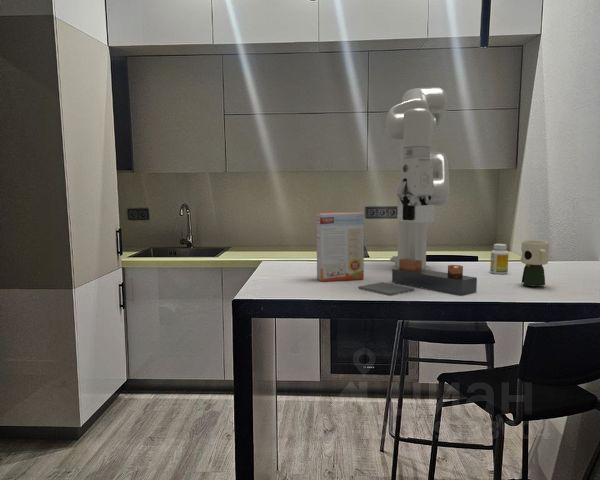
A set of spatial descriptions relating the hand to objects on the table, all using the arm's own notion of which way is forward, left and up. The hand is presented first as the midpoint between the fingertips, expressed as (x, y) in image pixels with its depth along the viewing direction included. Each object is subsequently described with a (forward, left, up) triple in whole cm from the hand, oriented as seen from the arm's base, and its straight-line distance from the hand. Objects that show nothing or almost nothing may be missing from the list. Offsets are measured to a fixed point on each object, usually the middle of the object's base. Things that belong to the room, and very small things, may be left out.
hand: (415, 219), depth 140 cm
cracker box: (-24, -7, -20) cm, 32 cm away
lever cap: (0, 0, -1) cm, 1 cm away
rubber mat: (-4, -8, -20) cm, 21 cm away
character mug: (+20, +28, -20) cm, 40 cm away
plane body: (+2, +5, -20) cm, 21 cm away
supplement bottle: (+2, +41, -20) cm, 46 cm away
